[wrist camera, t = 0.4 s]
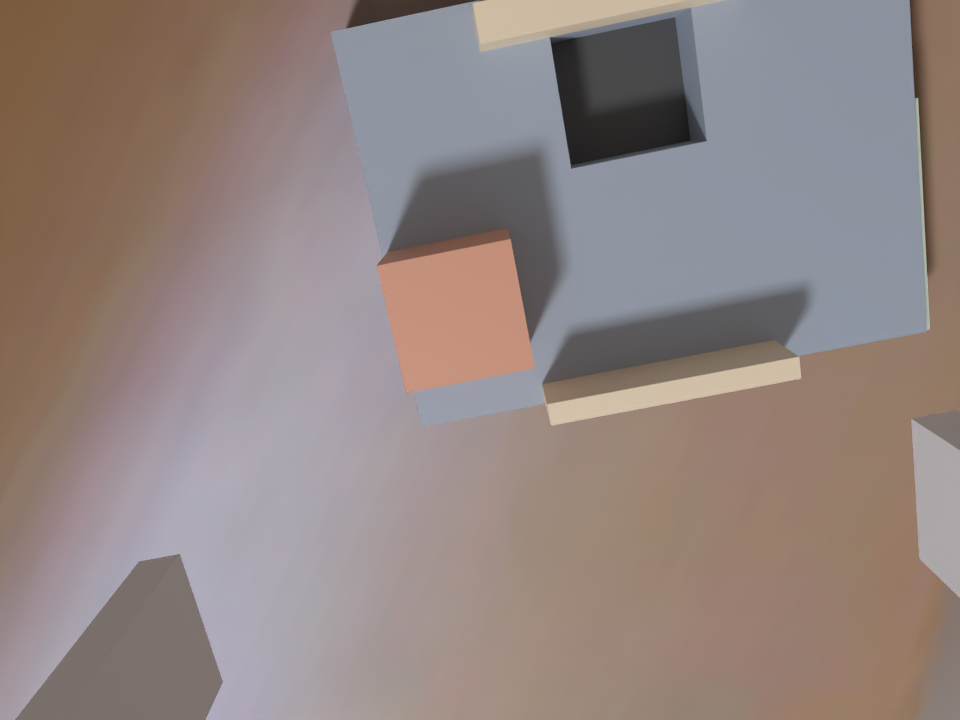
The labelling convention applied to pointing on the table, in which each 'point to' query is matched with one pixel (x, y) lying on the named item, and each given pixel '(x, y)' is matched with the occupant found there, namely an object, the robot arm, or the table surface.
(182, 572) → the robot arm
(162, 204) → the table surface
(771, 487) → the table surface
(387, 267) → the block
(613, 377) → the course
